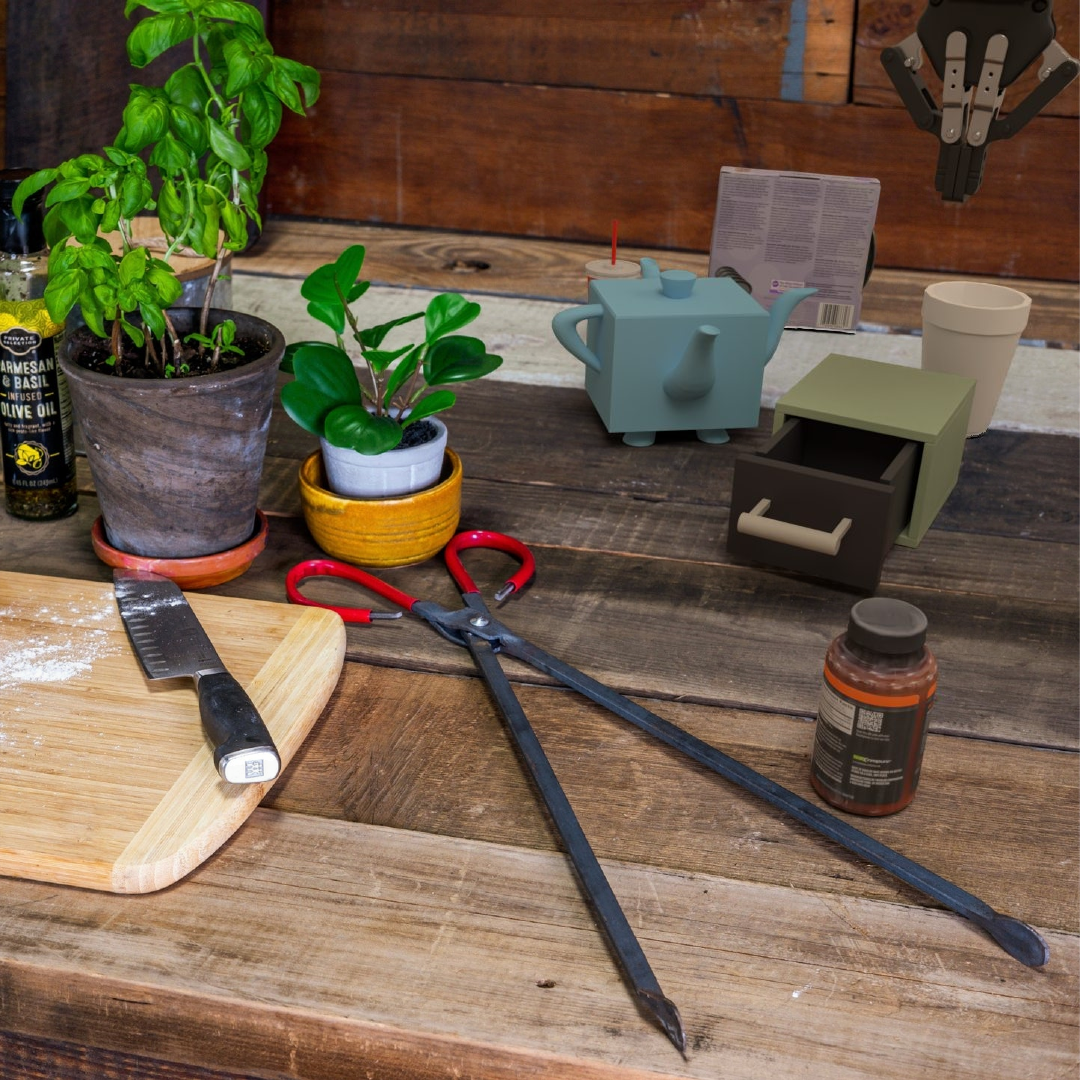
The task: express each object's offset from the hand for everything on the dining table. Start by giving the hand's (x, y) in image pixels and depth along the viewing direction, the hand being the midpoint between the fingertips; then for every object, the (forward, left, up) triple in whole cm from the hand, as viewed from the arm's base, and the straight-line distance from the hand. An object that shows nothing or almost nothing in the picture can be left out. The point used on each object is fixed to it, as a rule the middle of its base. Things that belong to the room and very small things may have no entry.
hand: (955, 200), depth 85 cm
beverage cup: (+41, -34, -27) cm, 60 cm away
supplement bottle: (-6, +30, -27) cm, 41 cm away
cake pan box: (+27, -53, -27) cm, 65 cm away
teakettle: (+25, -16, -27) cm, 40 cm away
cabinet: (+5, -9, -27) cm, 29 cm away
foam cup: (+2, -30, -27) cm, 41 cm away
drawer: (+5, +4, -26) cm, 27 cm away
